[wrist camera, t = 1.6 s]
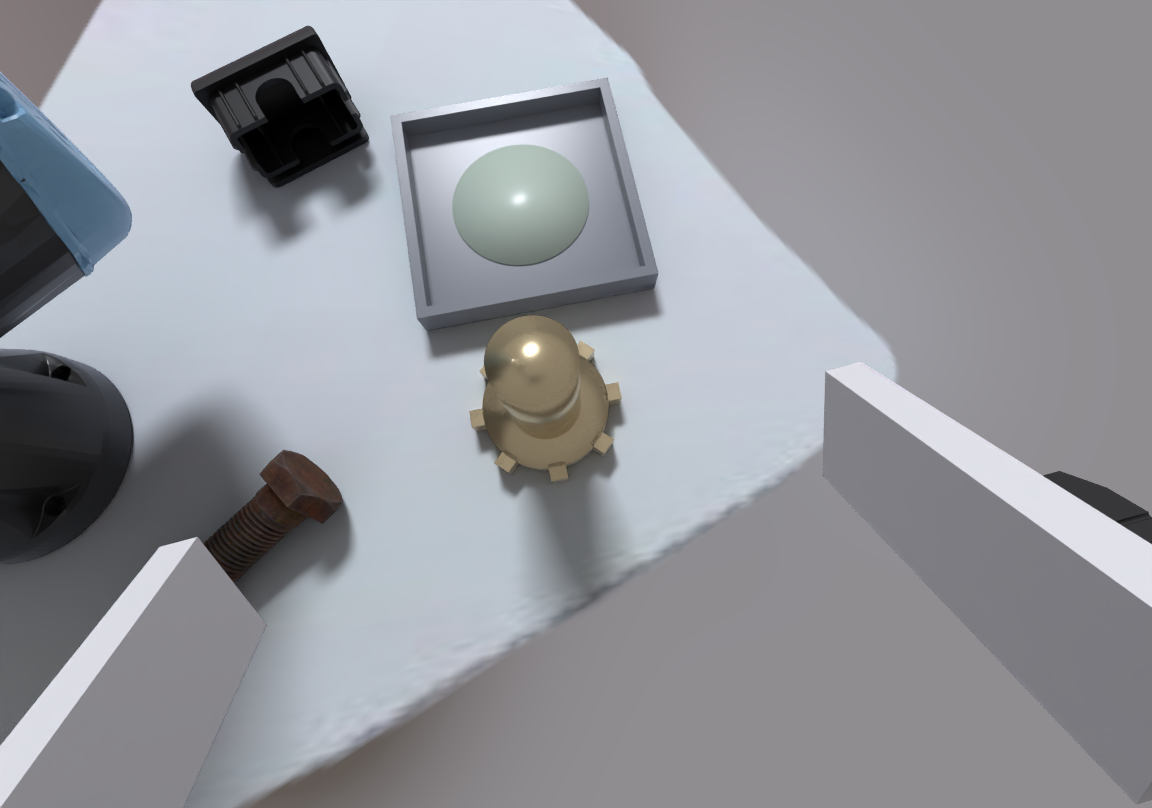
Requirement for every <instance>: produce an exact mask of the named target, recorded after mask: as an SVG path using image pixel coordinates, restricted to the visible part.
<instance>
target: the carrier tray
mask: <svg viewBox="0 0 1152 808" xmlns="http://www.w3.org/2000/svg"><path fill="white" fill-rule="evenodd" d="M390 117H391V124H392V132H393V140H394V147H395V155H396V162H397V170H398V177H399V185H400V193H401V200H402V208H403V215H404V223H405V231H406V238H407V246H408V253H409V261H410V268H411V276H412V284H413V291H414V299H415V306H416V314H417V319H418V320H419V322H420V323H421V324H422V325H423V327H424V328H425V329H426V330H427V331H429V330H434V329H439V328H445V327H450V326H455V325H461V324H466V323H471V322H476V321H482V320H487V319H492V318H498V317H503V316H508V315H514V314H519V313H524V312H529V311H535V310H540V309H545V308H551V307H556V306H561V305H567V304H572V303H577V302H583V301H588V300H593V299H598V298H604V297H609V296H614V295H620V294H625V293H630V292H636V291H641V290H646V289H652V288H654V286H655V283H656V280H657V276H658V270H657V266H656V262H655V258H654V255H653V251H652V247H651V243H650V239H649V235H648V231H647V227H646V224H645V220H644V216H643V212H642V208H641V204H640V200H639V197H638V193H637V189H636V185H635V181H634V177H633V173H632V169H631V166H630V162H629V158H628V154H627V150H626V146H625V142H624V138H623V135H622V131H621V127H620V123H619V119H618V115H617V111H616V108H615V104H614V100H613V96H612V92H611V88H610V84H609V80H608V78H603V79H597V80H591V81H586V82H580V83H574V84H568V85H563V86H557V87H551V88H546V89H540V90H534V91H528V92H523V93H517V94H511V95H505V96H500V97H494V98H488V99H483V100H477V101H471V102H465V103H460V104H454V105H448V106H443V107H437V108H431V109H425V110H420V111H414V112H408V113H402V114H397V115H391V116H390Z"/></svg>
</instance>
